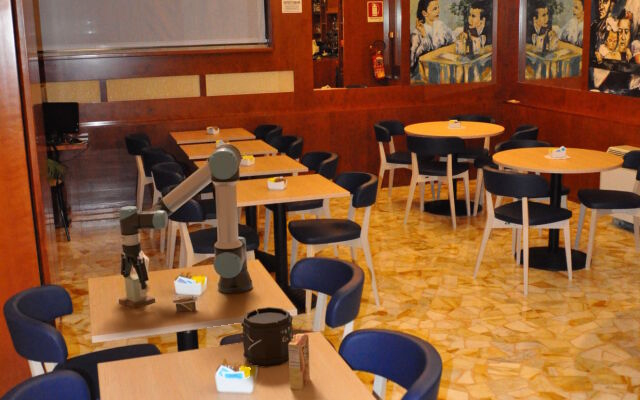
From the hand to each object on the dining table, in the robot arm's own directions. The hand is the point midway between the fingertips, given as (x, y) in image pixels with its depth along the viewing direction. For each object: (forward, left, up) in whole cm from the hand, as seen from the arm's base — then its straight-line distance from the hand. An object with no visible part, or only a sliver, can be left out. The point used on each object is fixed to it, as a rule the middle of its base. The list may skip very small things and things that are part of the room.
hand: (136, 293), depth 336 cm
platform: (-26, -6, -4) cm, 27 cm away
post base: (0, 0, -4) cm, 4 cm away
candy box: (-109, +13, -4) cm, 110 cm away
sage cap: (0, 0, -2) cm, 2 cm away
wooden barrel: (-86, +5, -4) cm, 86 cm away
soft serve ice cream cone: (+18, -15, -4) cm, 24 cm away
